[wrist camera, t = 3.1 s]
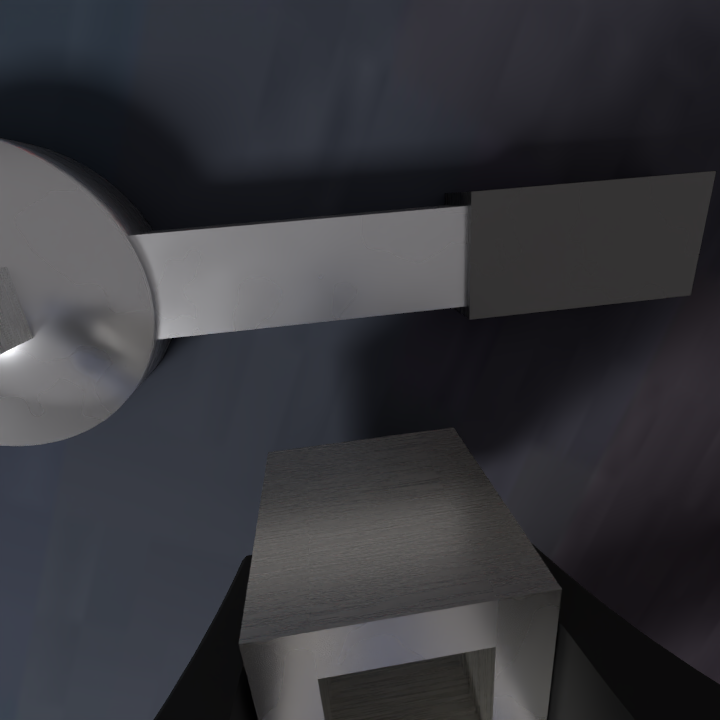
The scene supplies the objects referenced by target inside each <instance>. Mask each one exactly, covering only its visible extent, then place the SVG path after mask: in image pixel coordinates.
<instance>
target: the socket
mask: <svg viewBox="0 0 720 720" xmlns="http://www.w3.org/2000/svg"><path fill="white" fill-rule="evenodd" d="M561 592H562V588H561V587H560V586H559V584H558V583H557V581H556V580H555V578H554V577H553V575H552V574H551V572H550V571H549V569H548V568H547V566H546V565H545V563H544V562H543V560H542V559H541V557H540V556H539V554H538V553H537V551H536V550H535V548H534V547H533V545H532V544H531V542H530V541H529V539H528V538H527V536H526V535H525V533H524V532H523V530H522V529H521V527H520V526H519V524H518V523H517V521H516V520H515V518H514V517H513V515H512V514H511V512H510V511H509V509H508V508H507V506H506V505H505V504H504V502H503V501H502V499H501V498H500V496H499V495H498V493H497V492H496V490H495V489H494V487H493V486H492V484H491V483H490V481H489V480H488V478H487V477H486V475H485V474H484V472H483V471H482V469H481V468H480V466H479V465H478V463H477V462H476V460H475V459H474V457H473V456H472V454H471V453H470V451H469V450H468V448H467V447H466V445H465V444H464V442H463V441H462V439H461V438H460V436H459V435H458V433H457V432H456V430H455V429H454V427H452V428H445V429H437V430H430V431H422V432H415V433H407V434H400V435H393V436H385V437H378V438H370V439H363V440H355V441H348V442H341V443H333V444H326V445H318V446H311V447H303V448H296V449H289V450H281V451H274V452H268V457H267V464H266V470H265V477H264V483H263V490H262V496H261V503H260V509H259V515H258V522H257V528H256V535H255V541H254V548H253V554H252V561H251V567H250V574H249V580H248V587H247V593H246V600H245V606H244V613H243V619H242V626H241V632H240V639H239V648H240V652H241V656H242V660H243V663H244V667H245V671H246V675H247V679H248V683H249V687H250V690H251V694H252V698H253V702H254V706H255V710H256V714H257V717H258V720H547V713H548V705H549V696H550V687H551V679H552V670H553V661H554V653H555V644H556V635H557V626H558V618H559V609H560V600H561Z"/></svg>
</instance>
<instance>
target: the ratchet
mask: <svg viewBox="0 0 720 720" xmlns="http://www.w3.org/2000/svg"><path fill="white" fill-rule="evenodd" d="M715 174H716V171H709V172H696V173H683V174H670V175H656V176H644V177H632V178H621V179H609V180H597V181H585V182H574V183H562V184H550V185H538V186H527V187H515V188H503V189H491V190H480V191H468V192H456V193H445V205H442V206H431V207H419V208H408V209H396V210H385V211H374V212H362V213H351V214H339V215H328V216H316V217H305V218H294V219H282V220H271V221H259V222H248V223H236V224H225V225H213V226H202V227H191V228H179V229H168V230H156V231H153V229H152V227H151V226H150V224H149V223H148V222H147V220H146V219H145V218H144V217H143V215H142V214H141V213H140V211H139V210H138V209H137V208H136V207H135V206H134V205H133V204H132V202H131V201H130V200H129V199H128V198H127V197H126V196H125V195H124V194H123V193H122V192H120V191H119V190H118V189H117V188H116V187H115V186H113V185H112V184H111V183H110V182H109V181H107V180H106V179H105V178H103V177H102V176H100V175H99V174H97V173H96V172H94V171H93V170H91V169H90V168H88V167H86V166H85V165H83V164H81V163H79V162H77V161H75V160H73V159H71V158H69V157H67V156H64V155H62V154H59V153H57V152H54V151H52V150H49V149H46V148H42V147H38V146H34V145H31V144H27V143H22V142H17V141H13V140H8V139H3V138H0V445H1V446H28V445H40V444H45V443H51V442H56V441H60V440H63V439H67V438H70V437H73V436H76V435H78V434H80V433H82V432H85V431H87V430H89V429H91V428H93V427H95V426H96V425H98V424H99V423H101V422H103V421H104V420H106V419H107V418H108V417H109V416H110V415H112V414H113V413H114V412H115V411H116V410H118V409H119V408H120V407H121V406H122V404H123V403H124V402H125V401H126V400H127V399H128V398H129V397H130V396H131V395H132V394H133V392H134V391H135V390H136V389H137V388H138V387H139V386H140V385H141V384H142V383H143V382H144V380H145V379H146V378H147V377H148V376H149V375H150V374H151V373H152V371H153V370H154V369H155V368H156V367H157V366H158V364H159V362H160V361H161V359H162V358H163V356H164V355H165V353H166V350H167V348H168V346H169V343H170V341H171V338H176V337H185V336H194V335H204V334H213V333H222V332H232V331H241V330H250V329H260V328H269V327H278V326H287V325H297V324H306V323H315V322H325V321H334V320H343V319H353V318H362V317H371V316H381V315H390V314H399V313H409V312H418V311H427V310H436V309H446V308H454V309H455V310H457V311H458V312H460V313H461V314H462V315H464V316H465V317H466V318H468V319H469V320H471V319H480V318H489V317H498V316H508V315H517V314H526V313H535V312H544V311H553V310H562V309H571V308H580V307H589V306H598V305H608V304H617V303H626V302H635V301H644V300H653V299H662V298H671V297H680V296H689V295H691V291H692V286H693V281H694V276H695V271H696V267H697V262H698V257H699V252H700V247H701V242H702V237H703V233H704V228H705V223H706V218H707V213H708V208H709V203H710V198H711V194H712V189H713V184H714V179H715Z"/></svg>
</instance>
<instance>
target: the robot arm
mask: <svg viewBox="0 0 720 720" xmlns="http://www.w3.org/2000/svg"><path fill="white" fill-rule="evenodd" d="M531 544H532V543H531ZM532 545H533V544H532ZM533 547H534V548H535V550H536V551H537V553H538V554H539V556H540V557H541V559H542V560H543V562H544V563H545V565H546V566H547V568H548V569H549V571H550V572H551V574H552V575H553V577H554V578H555V580H556V581H557V583H558V584H559V586H560V587H561V588H562V592H561V600H560V609H559V618H558V626H557V635H556V644H555V653H554V661H553V670H552V679H551V687H550V696H549V705H548V713H547V720H720V684H718V683H716V682H715V681H713V680H712V679H710V678H709V677H707V676H705V675H704V674H702V673H701V672H699V671H698V670H696V669H694V668H693V667H691V666H690V665H688V664H687V663H685V662H684V661H683V660H681V659H680V658H678V657H677V656H675V655H674V654H672V653H671V652H669V651H668V650H666V649H665V648H663V647H662V646H660V645H659V644H657V643H656V642H654V641H653V640H652V639H650V638H649V637H647V636H646V635H644V634H643V633H642V632H640V631H639V630H638V629H636V628H635V627H633V626H632V625H631V624H629V623H628V622H627V621H625V620H624V619H623V618H622V617H620V616H619V615H618V614H616V613H615V612H614V611H612V610H611V609H610V608H608V607H607V606H606V605H605V604H603V603H602V602H601V601H599V600H598V599H597V598H596V597H594V596H593V595H592V594H591V593H589V592H588V591H587V590H586V589H585V588H583V587H582V586H581V585H580V584H578V583H577V582H576V581H575V580H574V579H572V578H571V577H570V576H569V575H568V574H566V573H565V572H564V571H563V570H562V569H560V568H559V567H558V566H557V565H556V564H555V563H553V562H552V561H551V560H550V559H549V558H548V557H546V556H545V555H544V554H543V553H542V552H541V551H540V550H538V549H537V548H536V547H535V546H534V545H533ZM251 561H252V555H249V556H246V557H245V558H244V559H243V560H242V563H241V565H240V567H239V569H238V572H237V574H236V576H235V578H234V580H233V582H232V584H231V586H230V588H229V590H228V592H227V595H226V597H225V598H224V600H223V602H222V604H221V606H220V608H219V610H218V612H217V614H216V616H215V618H214V620H213V621H212V623H211V625H210V627H209V629H208V630H207V632H206V634H205V636H204V638H203V639H202V641H201V643H200V645H199V647H198V649H197V650H196V652H195V654H194V656H193V657H192V659H191V661H190V662H189V664H188V666H187V667H186V669H185V670H184V672H183V674H182V675H181V677H180V679H179V680H178V682H177V684H176V685H175V687H174V689H173V690H172V692H171V693H170V695H169V697H168V698H167V700H166V702H165V703H164V705H163V706H162V708H161V709H160V711H159V712H158V714H157V715H156V717H155V719H154V720H258V717H257V714H256V710H255V706H254V702H253V698H252V694H251V690H250V687H249V683H248V679H247V675H246V671H245V667H244V663H243V660H242V656H241V652H240V648H239V639H240V632H241V626H242V619H243V613H244V606H245V600H246V593H247V587H248V580H249V574H250V567H251Z"/></svg>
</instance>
